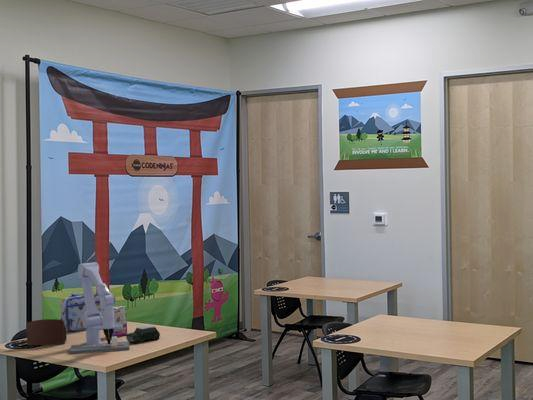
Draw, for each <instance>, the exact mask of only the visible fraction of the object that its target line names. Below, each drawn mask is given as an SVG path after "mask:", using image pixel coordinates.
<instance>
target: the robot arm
mask: <svg viewBox="0 0 533 400" xmlns="http://www.w3.org/2000/svg"><path fill="white" fill-rule="evenodd" d="M77 272H78V273H77V274H78V278H79V280H81V285H82V290H83V294H84V298H85V305H86V312H85V313H84V314H83V315H82V324H83V326H84V328H86V330H85V333H86V334H85V338H86V342H85V344H98V343H102V340H101V331H102V332H103V334H104V336H105V338H106V343H108V344H110V343H111V342H112V338H111V337H112V334H113V332H114V329H123V325H114V308H113V307H114V305H115V304H116V296H115V294H114V293H113V292H110V290H109V288H108V286H107V284H106V283H104V282H103V280H102V278H101V275H100V273H99V272H100V265H99V264H98V262H96V261H93V262H86V263H85V262H84V263H82V262H81V263H79V264H78V267H77ZM92 282H93V283H94V285H95V291H96V294H98V295H99V297H100V304H101V309H102V315H103V317H102V315H101V312H100V311H99V310H97V309H96V306H95V300H94V294H95V293H94V289H93V283H92ZM89 315H93V316H89ZM102 324H103V325H102ZM101 325H102V326H101ZM108 330H109V331H108Z"/></svg>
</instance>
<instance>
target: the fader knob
mask: <svg viewBox="0 0 533 400" xmlns="http://www.w3.org/2000/svg"><path fill="white" fill-rule="evenodd" d="M117 339H118V337H117V336H114V337H112V338H111V343H112V346H117V342H118V340H117Z"/></svg>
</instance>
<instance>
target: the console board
mask: <svg viewBox="0 0 533 400" xmlns="http://www.w3.org/2000/svg"><path fill="white" fill-rule="evenodd" d="M119 351H130V342H129V341H128V340H126V341H117V346H112V342H110V344H108V342H101V343H98V344H86V343H85V344H73V345H71V346H70V347H69V351H68V352H69V355H77V354H90V353H91V354H92V353H101V352H103V353H104V352H119Z"/></svg>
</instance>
